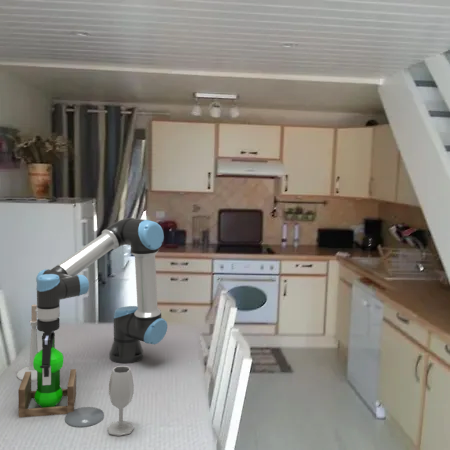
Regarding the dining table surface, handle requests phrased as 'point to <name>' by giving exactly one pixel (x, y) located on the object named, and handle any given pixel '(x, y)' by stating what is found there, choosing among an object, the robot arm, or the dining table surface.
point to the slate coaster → (84, 417)
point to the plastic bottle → (53, 392)
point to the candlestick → (31, 348)
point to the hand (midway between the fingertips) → (48, 377)
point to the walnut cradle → (24, 400)
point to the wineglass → (121, 398)
